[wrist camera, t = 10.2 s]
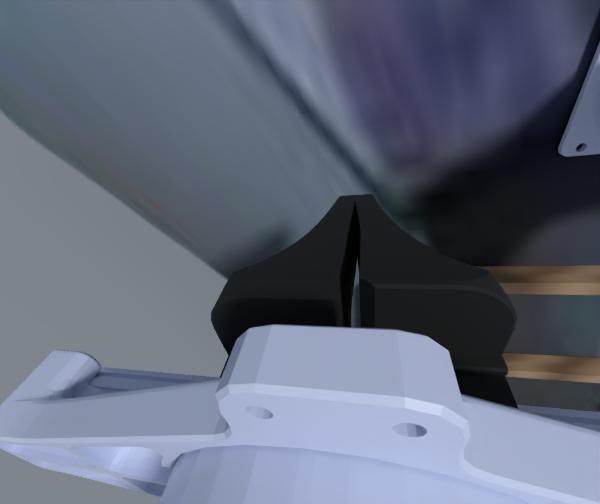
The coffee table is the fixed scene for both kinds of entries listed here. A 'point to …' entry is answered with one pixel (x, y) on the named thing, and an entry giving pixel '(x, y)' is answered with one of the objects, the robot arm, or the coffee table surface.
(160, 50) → the coffee table surface
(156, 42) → the coffee table surface
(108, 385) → the robot arm
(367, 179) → the coffee table surface
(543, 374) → the track
